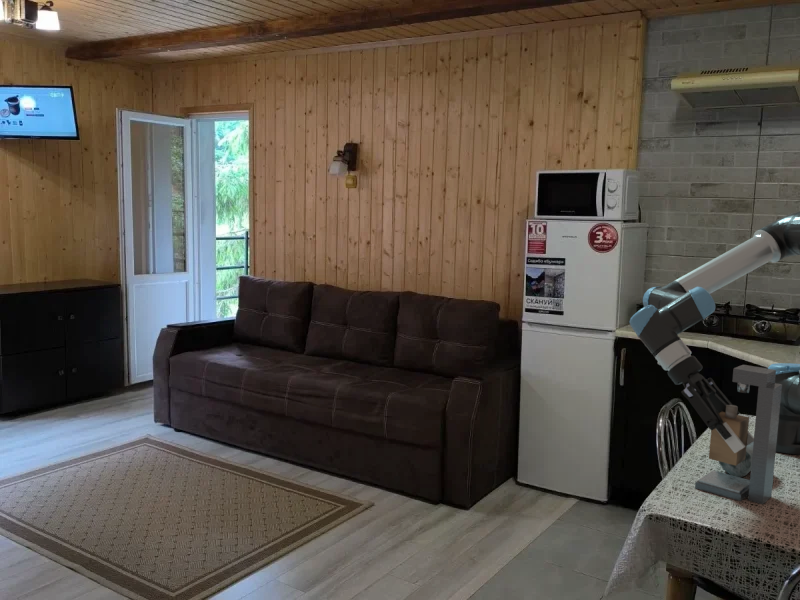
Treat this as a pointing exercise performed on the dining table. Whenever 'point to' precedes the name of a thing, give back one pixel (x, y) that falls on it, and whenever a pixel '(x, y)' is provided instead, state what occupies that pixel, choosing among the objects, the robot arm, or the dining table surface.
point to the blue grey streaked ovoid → (740, 464)
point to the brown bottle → (718, 444)
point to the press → (763, 440)
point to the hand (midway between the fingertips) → (745, 446)
